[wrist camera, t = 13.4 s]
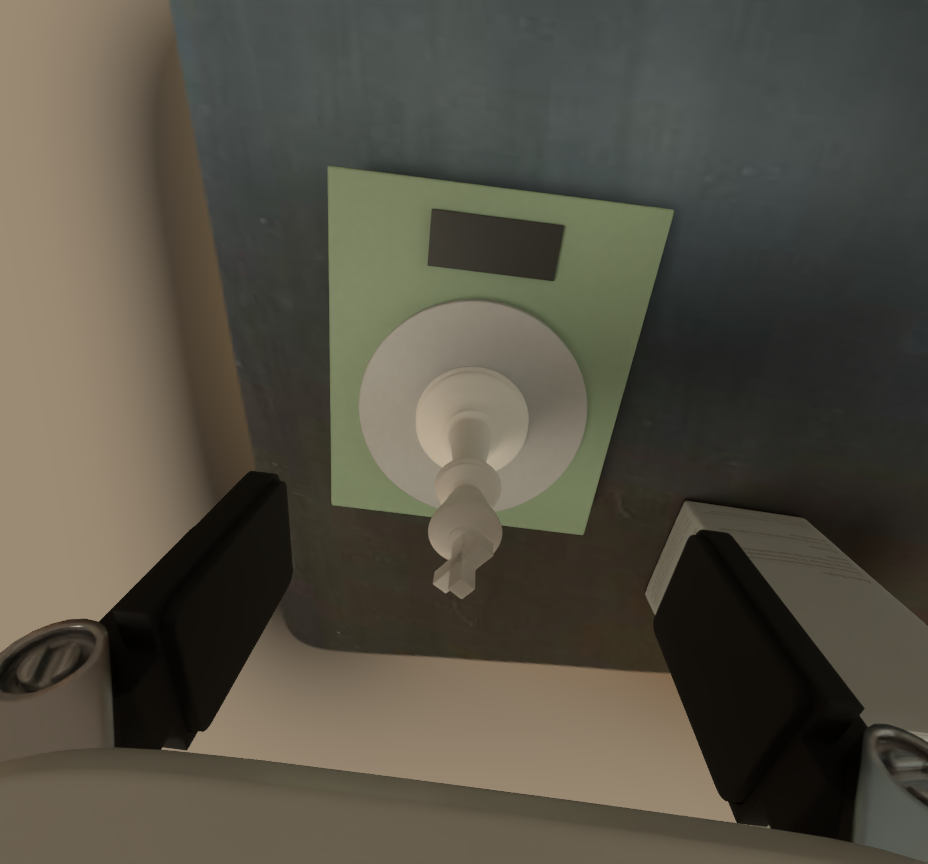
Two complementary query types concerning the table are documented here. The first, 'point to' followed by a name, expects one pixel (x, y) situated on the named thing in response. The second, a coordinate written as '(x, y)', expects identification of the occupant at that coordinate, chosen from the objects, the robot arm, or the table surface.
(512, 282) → the scale
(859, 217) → the table surface
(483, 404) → the chess piece
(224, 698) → the robot arm
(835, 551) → the white packaging box
